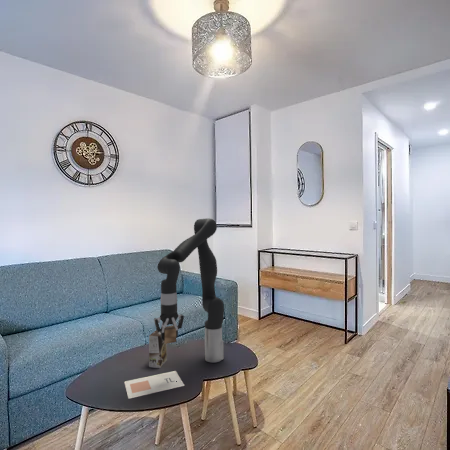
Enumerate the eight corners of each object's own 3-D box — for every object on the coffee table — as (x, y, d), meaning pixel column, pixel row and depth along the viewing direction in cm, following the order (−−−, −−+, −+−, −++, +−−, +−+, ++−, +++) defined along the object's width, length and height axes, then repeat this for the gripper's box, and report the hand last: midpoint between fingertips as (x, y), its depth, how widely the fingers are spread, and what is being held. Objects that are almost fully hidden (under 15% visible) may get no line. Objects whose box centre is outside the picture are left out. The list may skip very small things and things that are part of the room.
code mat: (175, 371, 147) (175, 370, 147) (184, 386, 134) (184, 385, 134) (124, 382, 137) (124, 381, 137) (128, 399, 124) (128, 398, 124)
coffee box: (160, 368, 150) (160, 336, 150) (148, 367, 151) (148, 335, 151) (167, 360, 159) (167, 330, 159) (156, 359, 160) (156, 329, 160)
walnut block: (173, 338, 142) (173, 325, 142) (176, 342, 137) (176, 328, 137) (162, 340, 140) (162, 327, 140) (165, 343, 135) (165, 330, 135)
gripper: (181, 298, 145) (182, 333, 145) (151, 302, 139) (152, 338, 139) (186, 302, 138) (186, 339, 138) (155, 306, 132) (155, 344, 132)
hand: (169, 338), depth 138 cm, fingers closed on walnut block, 5 cm apart
